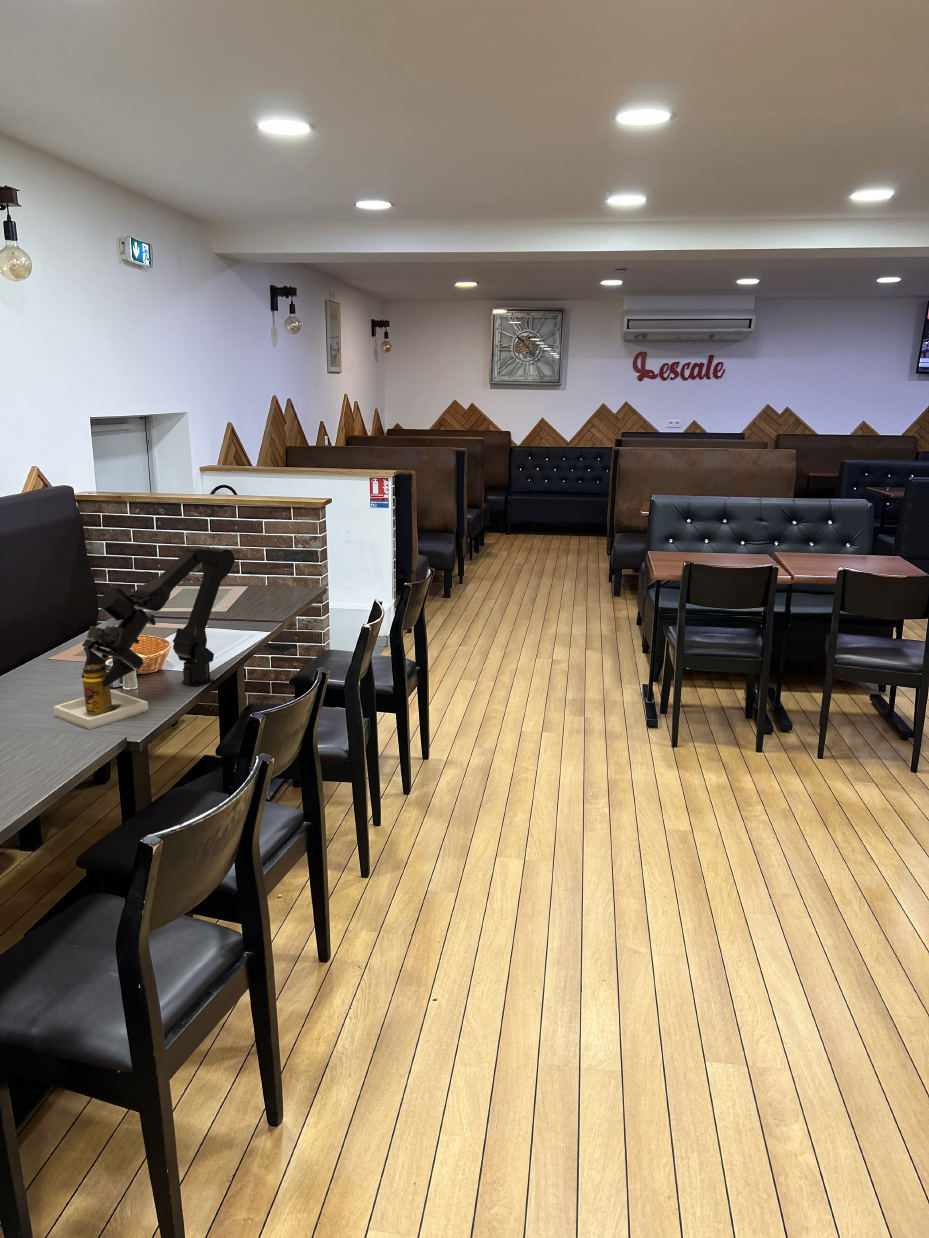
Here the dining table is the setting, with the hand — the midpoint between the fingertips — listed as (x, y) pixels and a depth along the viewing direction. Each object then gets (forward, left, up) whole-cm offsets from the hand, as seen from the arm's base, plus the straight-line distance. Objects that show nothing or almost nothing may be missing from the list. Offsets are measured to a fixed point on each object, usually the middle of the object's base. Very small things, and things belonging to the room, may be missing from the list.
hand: (93, 682), depth 212 cm
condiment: (-2, 0, -8) cm, 8 cm away
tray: (-1, 0, -9) cm, 9 cm away
